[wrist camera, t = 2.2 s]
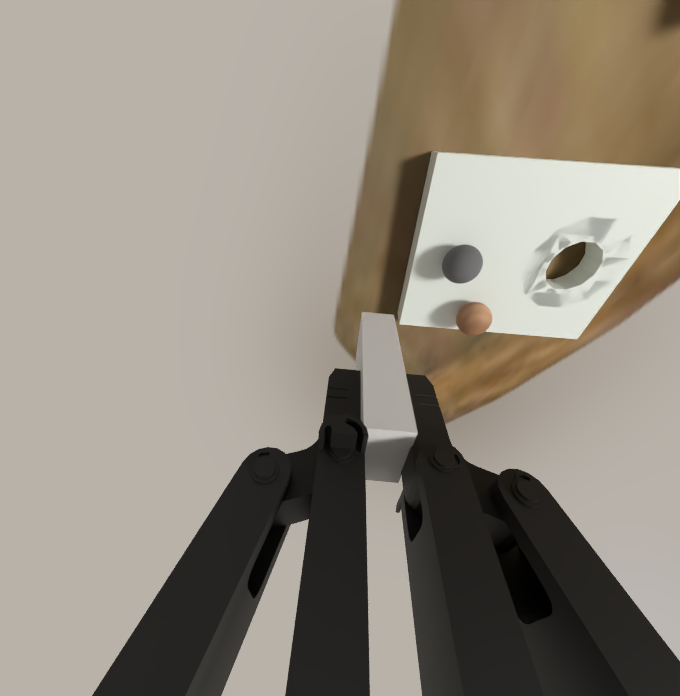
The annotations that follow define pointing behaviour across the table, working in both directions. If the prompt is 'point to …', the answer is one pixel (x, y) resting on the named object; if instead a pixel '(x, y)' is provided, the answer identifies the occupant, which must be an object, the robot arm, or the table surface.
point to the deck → (530, 237)
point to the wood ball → (473, 318)
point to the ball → (462, 264)
